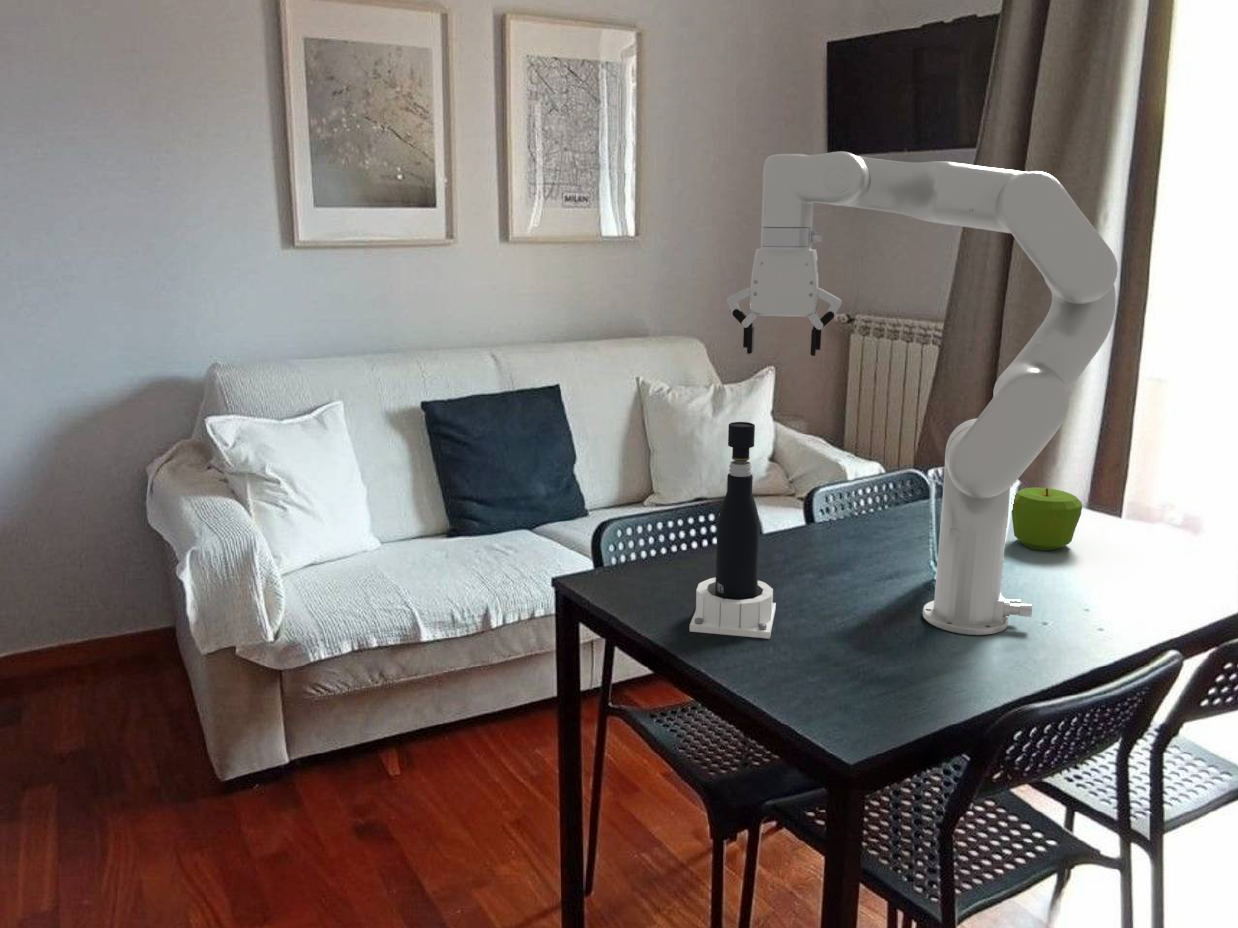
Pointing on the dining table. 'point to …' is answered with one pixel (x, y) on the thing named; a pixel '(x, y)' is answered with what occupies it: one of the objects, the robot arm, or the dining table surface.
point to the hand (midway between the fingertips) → (781, 353)
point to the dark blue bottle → (738, 522)
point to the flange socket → (733, 612)
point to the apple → (1045, 517)
